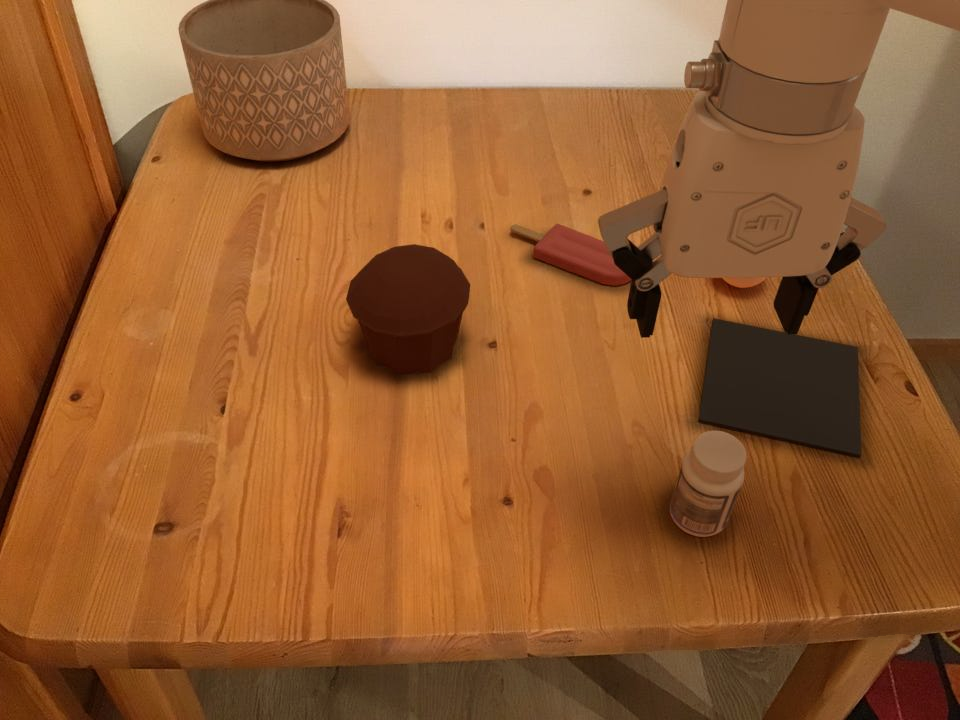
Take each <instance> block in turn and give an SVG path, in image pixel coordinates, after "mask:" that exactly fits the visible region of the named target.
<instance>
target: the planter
mask: <svg viewBox="0 0 960 720" xmlns="http://www.w3.org/2000/svg"><path fill="white" fill-rule="evenodd" d="M340 17H341V16H340V14H339V12H338V10H337V9H336V8H335V7H334V5H333V4H331V3H330V2H328V1H327V0H206V1H204V2H202V3H199V4H198V5H196V6H195V7H193V8H192V9H190V10H189V11H187V12H186V13H185V15H183V17H182V18H181V20H180V22H179V24H178V27H177V29H178V36H179V39H180V43H181V46H182V51H183V56H184V60H185V64H186V68H187V73H188V76H189V80H190V85H191V89H192V93H193V97H194V101H195V105H196V110H197V113H198V117H199V121H200V126H201V131H202V134H203V136H204V138H205V139H206V141H207V142H208V143H209V144H210V145H211V146H212V147H214V148H215V149H217V150H218V151H221V152H223V153H224V154H227V155H230V156H233V157H236V158H242V159H246V160H251V161H254V162H255V161H258V162H269V163H270V162H271V163H272V162H273V163H274V162H286V161H291V160H292V161H293V160H297V159H300V158H303V157H307V156H310V155H312V154H314V153H316V152H318V151H319V150H322V149H324V148H326V147H328V146H330V145H331V144H333V143H334V142H335V141H337V140H338V139H339V138H340V137H342V135H343V134H344V133H345V132H346V130H347V128H348V127H349V124H350V120H351V115H350V107H349V106H350V105H349V95H348V87H347V75H346V66H345V56H344V48H343V47H344V46H343V36H342V26H341V18H340Z"/></svg>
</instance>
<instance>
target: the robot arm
mask: <svg viewBox="0 0 960 720" xmlns="http://www.w3.org/2000/svg"><path fill="white" fill-rule="evenodd" d="M890 9H891V10H894V11H897V12H900V13H903V14H906V15H909V16H912V17H916V18H919V19H921V20H925V21H927V22H931V23H934V24H936V25H938V26H939V25H940V26H943V27H945V28H948V29H953V30H955V31H957V32H960V0H726V5H725V9H724V14H723V16H722V17H723V18H722V22H721V27H720V31H719V37H718V39H716V40H715V39H714V41H713V44H712V50H711V52H710V54H709V55H708V58H701V60H700V61H688V62H686V65H685V67H684V75H683V77H684V78H683V81H684V86H685V88H686V89H698V91H697V92H696V93H695V95H694V97H693V98H692V101H691V103H690V105H689V107H688V109H687V111H686V114H685V115H684V117H683V120H682V122H681V125H680V127H679V130H678V132H677V134H676V138H675V140H674V143H673V145H672V148H671V151H670V154H669V157H668V160H667V163H666V166H665V169H664V173H663V177H662V180H661V183H660V187H659V191H656V192H654V193H651V194H649V195H647V196H644V197H642V198H639V199H637V200H635V201H632V202H630V203H627V204H625V205H623V206H620V207H618V208H616V209H613V210H611V211H608V212H606V213H603V214H602V215H600V216H599V217H598V219H597V224H598V228H599V232H600V236H601V239H602V241H604V242H605V244H606V246H607V248H608V250H609V252H610V254H611V256H612V258H613V260H614V264H615V265H616V266H617V267H618V268H619V269H621V270H622V271H623V272H624V273H625V274H626V275H627V276H628V277H630V278H631V281H630V286H629V291H628V297H627V305H626V307H627V309H626V310H627V314H628V318H629V319H630V320H635V321H636V324H637V329H638V332H639V336H640V338H641V339H643V338H645V339H646V338H647V339H648V338H650V337H651V336H653V335H654V331H655V328H656V327H655V326H656V323H657V318H658V313H659V309H660V306H661V305H660V304H661V300H662V289H661V287H660V284H661V282H663V281H664V280H666V279H667V278H668V277H670V275H674V276H678V277H682V278H686V279H687V278H688V279H689V278H691V279H723V278H739V277H767V278H780V277H781V280H780V283H779V286H778V289H777V292H776V294H775V296H774V300H773V309H774V311H775V313H776V316H777V317H778V320H779V322H780V325H781V326H782V329H783V332H785V333H787V334H788V335H790V334H795V335H798V333H799V331H800V329H801V326H802V323H803V322H804V318H805V317H807V316H808V315H809V314H810V311H811V310H812V306H813V304H814V301H815V299H816V297H817V294H818V291H819V289H823V288H825V287H827V286H829V285H830V284H831V283H832V281H833V276H834V275H835V274H837V273H839V272H840V271H842V270H843V269H845V268H846V267H849V266H850V265H851V264H853V263H855V262H856V261H857V260H859V258H860V257H861V253H862V252H861V251H863V249H867V248H868V247H869V246H870V245H872V243H873V242H875V240H876V239H878V237H879V236H880V235H882V234H883V233H884V231H885V230H886V228H887V223H886V222H885V220H884V218H883V216H882V215H881V214H880V212H879V211H878V210H876V209H874V208H872V207H871V206H869V205H867V204H865V203H863V202H861V201H859V200H857V199H855V198H854V197H852V196H853V192H854V188H855V184H856V179H857V175H858V169H859V166H860V165H859V164H860V159H861V154H862V146H863V139H864V133H865V132H864V131H865V116H864V115H863V113H862V112H861V111H860V110H859V109H858V108H857V107H856V103H857V100H858V97H859V94H860V92H861V89H862V86H863V83H864V80H865V78H866V74H867V72H868V70H869V67H870V65H871V62H872V59H873V56H874V53H875V51H876V48H877V46H878V42H879V40H880V37H881V34H882V32H883V29H884V26H885V23H886V20H887V18H888V15H889V12H890ZM844 225H845V226H846V228H845V229H844V232H843V231H842V230H843V227H844ZM651 226H652V227H653V230H654V233H653V234H652V235H651V236H649V237H648V238H647V239H645V240H644V241H643V242H642V243H641V244H639V245H636V244H634V243H633V241H631V240H630V239H629V238H628V237H629V236H630V235H632V234H634V233H636V232H639V231H641V230H643V229H646V228H648V227H651Z"/></svg>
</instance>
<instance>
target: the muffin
mask: <svg viewBox="0 0 960 720" xmlns="http://www.w3.org/2000/svg"><path fill="white" fill-rule="evenodd" d="M347 289H348V290H347V293H346V297H345V301H346V303H347V305H348V308H349V310H350V312H351V314H352V317H353V318H354V319H356V320H357V323H358V326H359V328H360V331H361V335H362V337H363V341H364V343H365V346H366V348H367V349H368V351H369V352H370V354H371V355H372V358H373V361H374V362H375V365H377V366H379V367H382V368H384V369H385V368H386V369H387V370H391V371H392V372H395V373H397V374H398V375H399V376H403V375H409V374H416V373H417V374H418V373H420V374H421V373H423V374H424V373H432V372H433V371H434V370H435V369H437V368H438V367H439V366H441V365H442V364H444V363H446V362H448V361H450V360H452V359H453V354H454V350H455V345H456V343H457V341H458V337H459V334H460V328H461V324H462V320H463V319H462V318H463V315H464V311H465V310H466V309H467V307H468V305H469V302H470V301H469V300H470V291H471V283H470V281H469V280H468V278H467V277H466V274H465V273H464V271H463V270H462V268H461V267H459V265H458V264H457V262H456V261H455V260H454V259H453V258H452V257H450V255H447V254H445V253H444V252H442V251H441V250H439V249H437V248H436V247H434V246H433V247H431V246H426V245H421V244H416V243H415V244H406V245H405V244H404V245H397V246H393V247H391V248H389V249H386V250H384V251H381V252H380V253H377V254H375V255H374V256H373V257H372V258H371V259H370V260H369V261H368V262H367V263H366V264H365V265H364V266H363V267H362V268H361V269H360V270H359V271H358V273H356V275H355V276H354V277H353V278H352V279H351V280H350V281H349V287H348V288H347Z"/></svg>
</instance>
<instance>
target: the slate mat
mask: <svg viewBox="0 0 960 720" xmlns="http://www.w3.org/2000/svg"><path fill="white" fill-rule="evenodd" d="M710 329H711V330H710V336H709V343H708V348H707V349H708V350H707V357H706V364H705V371H704V376H703V377H704V379H703V385H702V391H701V399H700V405H699V406H700V407H699V412H698V413H699V414H698V421H697V422H698V423H701V424H706V425H711V426H714V427H721V428H723V429H724V428H725V429H728V430H732V431H737V432H743V433H747V434H751V435H756V436H760V437H761V436H762V437H764V438H765V437H766V438H769V439H774V440H778V441H782V442H788V443H792V444H796V445H802V446H805V447H810V448H815V449H819V450H823V451H829V452H833V453H838V454H841V455H845V456H849V457H854V458H859V459H860V458H861V457H862V435H861V434H862V433H861V432H862V431H861V403H860V402H861V401H860V378H859V375H860V374H859V350H858V349H859V348H858V346H855V345H849V344H845V343H839V342H836V341H830V340H825V339H821V338H820V339H819V338H814V337H810V336H805V335H800V334H790V335H788V334H787V333H785V332H784V331H779V330H775V329H770V328H766V327H765V328H764V327H759V326H755V325H749V324H744V323H740V322H734V321H729V320H725V319H720V318H714V317H713V318H712V323H711V328H710Z"/></svg>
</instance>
